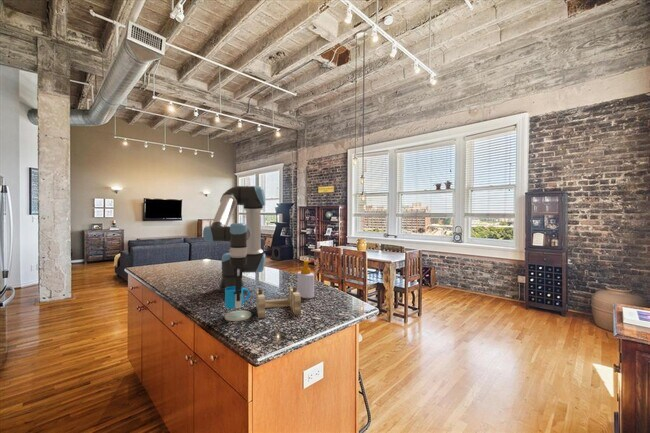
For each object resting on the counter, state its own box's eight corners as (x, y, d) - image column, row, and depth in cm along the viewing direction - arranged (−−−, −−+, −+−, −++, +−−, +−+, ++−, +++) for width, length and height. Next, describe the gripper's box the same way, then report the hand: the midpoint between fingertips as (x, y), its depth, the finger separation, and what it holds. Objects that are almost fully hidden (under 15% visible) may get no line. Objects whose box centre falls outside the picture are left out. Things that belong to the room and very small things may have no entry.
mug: (229, 309, 131) (229, 291, 131) (222, 305, 137) (222, 287, 137) (253, 304, 139) (253, 287, 139) (245, 300, 145) (245, 283, 145)
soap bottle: (317, 297, 169) (317, 262, 169) (305, 299, 164) (305, 263, 164) (305, 291, 180) (306, 259, 180) (294, 293, 175) (294, 260, 175)
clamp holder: (256, 306, 152) (256, 285, 151) (294, 303, 157) (294, 283, 157) (258, 318, 136) (258, 294, 136) (300, 314, 141) (301, 291, 141)
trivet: (225, 313, 142) (225, 311, 142) (250, 311, 145) (250, 309, 145) (224, 322, 130) (224, 320, 130) (251, 319, 133) (251, 318, 133)
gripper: (230, 253, 146) (230, 298, 146) (229, 260, 126) (229, 312, 126) (246, 252, 148) (245, 297, 148) (247, 259, 128) (247, 311, 128)
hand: (238, 304), depth 137 cm, fingers closed on mug, 8 cm apart
